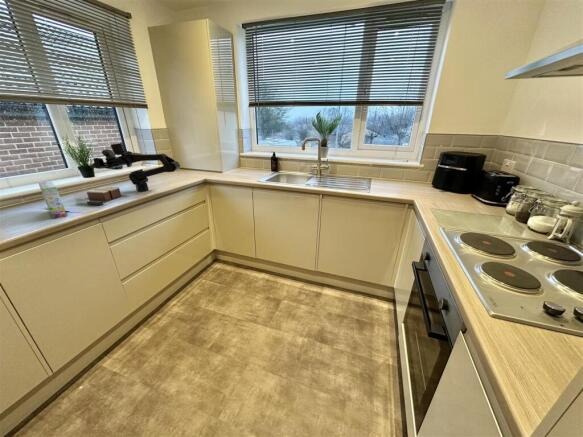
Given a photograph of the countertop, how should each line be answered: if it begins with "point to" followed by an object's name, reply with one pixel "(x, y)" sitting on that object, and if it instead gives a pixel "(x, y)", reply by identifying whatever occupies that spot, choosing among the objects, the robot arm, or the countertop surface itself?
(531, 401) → the countertop surface
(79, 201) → the knife
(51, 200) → the snack box
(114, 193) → the sheet cake
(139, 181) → the robot arm
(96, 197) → the cake slice
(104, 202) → the cake board
